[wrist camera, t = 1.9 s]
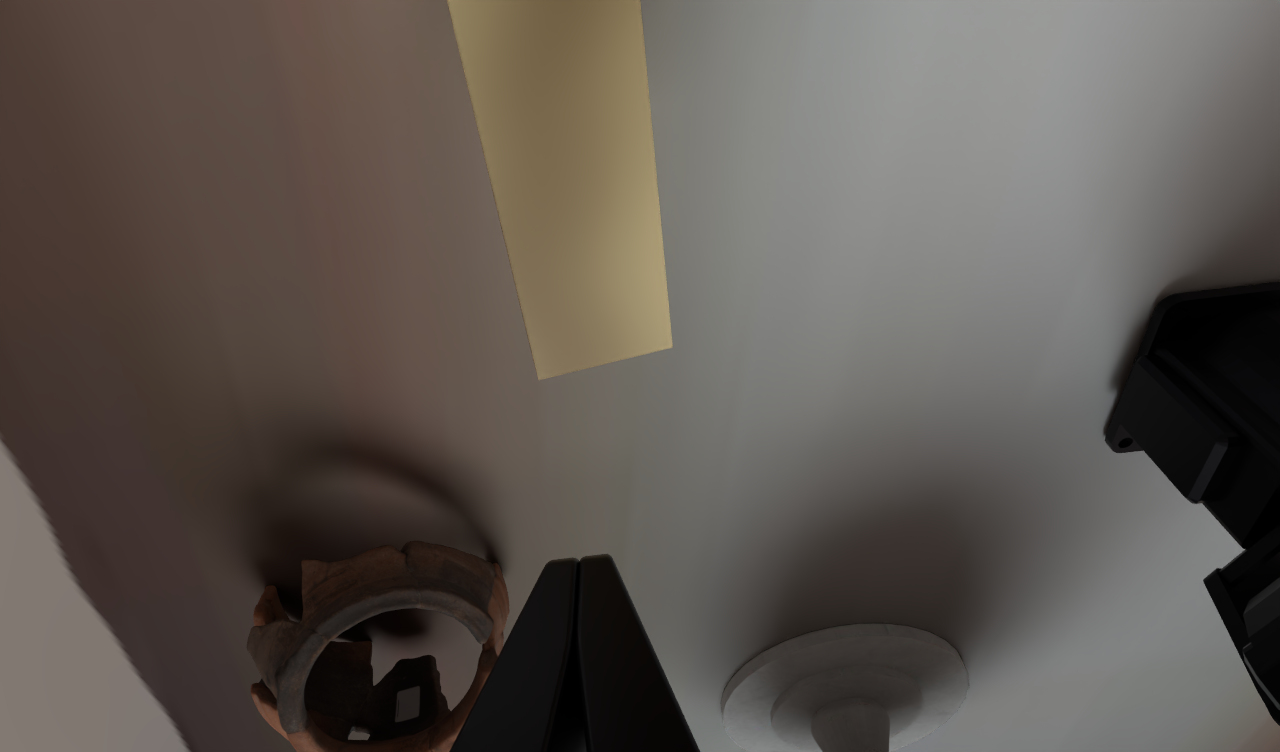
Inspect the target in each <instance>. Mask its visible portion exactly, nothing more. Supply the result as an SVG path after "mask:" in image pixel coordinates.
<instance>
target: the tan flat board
mask: <svg viewBox="0 0 1280 752" xmlns="http://www.w3.org/2000/svg"><path fill="white" fill-rule="evenodd" d="M447 3H448V7H449V11H450V15H451V20H452V24H453V28H454V32H455V36H456V40H457V45H458V49H459V53H460V57H461V61H462V65H463V69H464V74H465V78H466V82H467V86H468V90H469V94H470V99H471V103H472V107H473V111H474V115H475V119H476V124H477V128H478V132H479V136H480V140H481V144H482V149H483V153H484V157H485V161H486V165H487V169H488V173H489V178H490V182H491V186H492V190H493V194H494V198H495V203H496V207H497V211H498V215H499V219H500V223H501V228H502V232H503V236H504V240H505V244H506V248H507V253H508V257H509V261H510V265H511V269H512V273H513V277H514V282H515V286H516V290H517V294H518V298H519V302H520V307H521V311H522V315H523V319H524V323H525V327H526V332H527V336H528V340H529V344H530V348H531V352H532V356H533V361H534V364H535V368H536V372H537V376H538V379H539V380H542V379H546V378H550V377H554V376H558V375H562V374H566V373H570V372H574V371H578V370H582V369H586V368H591V367H595V366H599V365H603V364H607V363H611V362H615V361H619V360H623V359H627V358H631V357H635V356H639V355H644V354H648V353H652V352H656V351H660V350H664V349H668V348H672V347H673V346H672V335H671V325H670V314H669V303H668V293H667V282H666V271H665V261H664V250H663V239H662V228H661V218H660V207H659V196H658V186H657V175H656V164H655V154H654V143H653V132H652V122H651V111H650V100H649V89H648V79H647V68H646V57H645V47H644V36H643V25H642V15H641V4H640V0H447Z"/></svg>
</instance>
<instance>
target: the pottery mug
mask: <svg viewBox="0 0 1280 752" xmlns="http://www.w3.org/2000/svg"><path fill="white" fill-rule="evenodd" d="M301 567H302V572H303V573H302V598H303V615H302V621H301V622H299V623H297V622H294V621H291V620H290V619H289V618H288V616H287V615H286V613H285V611H284V609H283V607H282V605H281V603H280V600H279V597H278V593H277V589H276V587H275V586H273V585H268V586H267V587H266V588H265V591H264V593H263V595H262V596H261V598H260V600H259V602H258V604H257V605H256V607H255V610H254V615H253V616H254V627H252V628H251V631H250V634H249V637H248V642H247V650H248V652H249V653H250V655H251V656H252V658H253V660H254V661H255V663H256V666H257V669H258V671H259V673H260V675H261V677H262V679H261V680H260V682H259V683H254V684H252V685H251V695H252V697H253V700H254V702H255V705H256V707H257V709H258V710H259V712H260V713H261V715H262V716H263V717H264V718H265V720H266V721H267V722H268V723H269V724H270V725H271V726H272V727H273V728H274V729H275V730H277V731H278V732H279V733H280V734H282V735H283V736H284V737H285V738H286V739H288V740H289V741H290V742H291V744H292V745H293V747H294V748H295V749H296V751H297V752H449V751H450V749H451V747H452V745H453V743H454V742H455V740H456V738H457V736H458V734H459V732H460V730H461V728H462V726H463V724H464V722H465V720H466V718H467V716H468V714H469V712H470V710H471V708H472V707H473V705H474V703H475V701H476V699H477V697H478V695H479V693H480V691H481V689H482V687H483V685H484V683H485V681H486V679H487V677H488V675H489V674H490V672H491V670H492V668H493V666H494V664H495V662H496V660H497V658H498V656H499V654H500V652H501V650H502V648H503V640H504V635H503V630H504V627H505V624H506V621H507V617H508V614H509V598H508V592H507V588H506V584H505V581H504V578H503V575H502V572H501V569H500V567H499V565H498V564H497V563H493V564H492V563H491V562H488V561H486V560H484V559H481V558H479V557H477V556H475V555H472V554H469V553H466V552H462V551H459V550H457V549H454V548H450V547H446V546H443V545H434V544H429V543H424V542H422V541H410V542H408V543H406V544H405V546H404V547H403V548H402V550H401V552H400V551H399V550H397V549H396V548H395V547H394V546H391V545H385V546H381V547H377V548H374V549H371V550H369V551H367V552H365V553H362V554H359V555H355V556H353V557H350V558H347V559H344V560H341V561H331V562H323V561H320V560H315V559H312V560H303V561H302V562H301ZM405 608H418V609H426V610H434V611H438V612H441V613H444V614H446V615H449V616H452V617H453V618H455V619H456V620H458V621H459V622H461V623H462V624H463V625H465V626H466V627H467V628H468V629H469V630H470V632H471V633H472V634H473V636H474V637H475V639H476V640H477V641H478V642H479V643H480V644H483V645H482V648H483V650H482V652H481V655H480V658H479V662H478V668H477V672H476V675H475V678H474V680H473V683H472V685H471V687H470V689H469V690H468V692H467V693H466V695H465V696H464V698H463V699H462V700H461V701H460V703H459V704H458V705H457V706H456V707H455V708H454V709H453V710H452V711H450V710H449V709H448V705H447V700H446V698H445V696H444V695H443V694H442V693H441V686H440V673H439V671H438V670H437V667H436V659H435V657H433V656H431V655H425V656H421V657H418V658H413V659H401V660H399V661H398V662H397V663H396V664H395V666H394V667H393V669H392V670H391V671H390V672H388V673H387V674H386V675H385V676H384V678H383V679H382V680H381V681H380V682H379V683H378V684H377V685H375V686H373V668H372V665H371V657H372V643H371V641H358V642H335V641H332V640H333V639H335V638H336V637H337V636H338V635H340V634H341V633H342V632H344V631H346V630H348V629H349V628H351V627H352V626H354V625H356V624H358V623H359V622H361V621H363V620H365V619H367V618H369V617H372V616H374V615H378V614H380V613H383V612H386V611H391V610H398V609H405ZM351 731H355V732H360V733H367V734H370V737H369V739H368V740H348V737H349V734H350V733H351Z"/></svg>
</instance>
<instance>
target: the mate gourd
mask: <svg viewBox="0 0 1280 752" xmlns="http://www.w3.org/2000/svg"><path fill="white" fill-rule="evenodd" d="M968 688H969V679H968V673H967V670H966V668H965V666H964V664H963V661H962V660H961V658H960V656H959V654H958V652H957V650H956V649H955V648H953V647H952V646H951V645H950V644H949V643H948V642H947V641H946V640H944V639H942V638H940V637H938V636H936V635H934V634H932V633H930V632H928V631H924V630H920V629H917V628H913V627H910V626H902V625H894V624H854V625H845V626H837V627H831V628H827V629H823V630H818V631H814V632H810V633H806V634H804V635H801V636H798V637H795V638H792V639H790V640H787V641H784V642H782V643H780V644H778V645H776V646H774V647H772V648H770V649H768V650H766V651H764V652H762V653H761V654H759V655H758V656H756V657H755V658H753V659H752V660H751V661H749V662H748V663H746V664H745V665H744V666H743V667H742V668H741V669H740V670H739V671H738V672H737V673H736V674H735V675H734V676H733V677H732V678H731V680H730V681H729V683H728V685H727V686H726V688H725V689H724V692H723V696H722V700H721V709H722V717H723V724H724V728H725V730H726V732H727V734H728V735H729V737H730V738H731V739H732V740H733V741H734V742H735V743H736V744H737V745H738V746H739V747H741V748H742V749H744V750H746V751H748V752H892V751H895V750H897V749H899V748H902V747H904V746H907V745H909V744H912V743H914V742H916V741H918V740H919V739H921V738H923V737H925V736H927V735H929V734H931V733H932V732H933V731H935V730H936V729H938V728H939V727H940V726H942V725H943V724H945V723H946V722H947V721H948V720H949V719H950V718H951V717H952V716H953V715H954V714H955V713H956V712H957V711H958V710H959V708H960V707H961V705H962V703H963V702H964V700H965V699H966V696H967V692H968Z"/></svg>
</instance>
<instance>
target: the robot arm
mask: <svg viewBox="0 0 1280 752" xmlns="http://www.w3.org/2000/svg"><path fill="white" fill-rule="evenodd" d="M1176 309H1177V310H1176ZM1175 310H1176V311H1175ZM1173 311H1175V312H1173ZM1105 442H1106V443H1107V445H1108V446H1109V447H1110V448H1111V449H1112V451H1114V452H1116V453H1126V452H1134V451H1143V450H1144V451H1145V453H1146V454H1147V455H1148V456H1149V457H1150V458H1151V459H1152V461H1153V462H1154V463H1155V464H1156V465H1157V466H1158V467H1159V468H1160V470H1161V471H1162V472H1163V473H1164V474H1165V475H1166V476H1167V478H1168V479H1169V480H1170V481H1171V482H1172V483H1173V484H1174V486H1175V487H1176V488H1177V489H1178V490H1179V491H1180V492H1181V494H1182V495H1183V496H1184V497H1185V498H1186V499H1187V500H1189V501H1190V502H1191V503H1194V504H1198V503H1203V505H1204V506H1205V507H1206V508H1207V509H1208V510H1209V511H1210V512H1211V513H1212V515H1213V516H1214V517H1215V518H1216V519H1217V520H1218V521H1219V522H1220V524H1221V525H1222V526H1223V527H1224V528H1225V529H1226V530H1227V531H1228V532H1229V534H1230V535H1231V536H1232V537H1233V538H1234V539H1235V540H1236V541H1237V542H1238V544H1239V545H1240V546H1241V547H1242V548H1243V549H1245V550H1244V551H1243V552H1242V553H1241V554H1239V555H1238V556H1237V557H1236V558H1234V559H1233V560H1232V561H1231V562H1230V563H1228V564H1227V565H1226V566H1225V567H1223V568H1222V569H1220V568H1217V569H1215V570H1214V571H1213V572H1212V573H1211V574H1209V575H1208V576H1207V577H1206V578H1204V580H1203V581H1204V584H1205V586H1206V588H1207V590H1208V592H1209V594H1210V596H1211V598H1212V600H1213V602H1214V604H1215V606H1216V608H1217V610H1218V612H1219V614H1220V616H1221V618H1222V620H1223V622H1224V624H1225V626H1226V628H1227V630H1228V633H1229V635H1230V637H1231V639H1232V641H1233V643H1234V645H1235V647H1236V649H1237V651H1238V653H1239V655H1240V657H1241V659H1242V661H1243V663H1244V665H1245V667H1246V669H1247V671H1248V673H1249V675H1250V677H1251V679H1252V681H1253V683H1254V685H1255V687H1256V689H1257V691H1258V693H1259V695H1260V696H1261V698H1262V700H1263V701H1264V703H1265V705H1266V707H1267V709H1268V711H1269V713H1270V715H1271V716H1272V718H1273V719H1274V721H1275V722H1276V723H1277V724H1278V725H1280V282H1274V283H1265V284H1257V285H1248V286H1240V287H1231V288H1223V289H1214V290H1206V291H1197V292H1189V293H1180V294H1174V295H1171V296H1168V297H1167V298H1165V299H1163V300H1162V301H1161V302H1160V303H1159V304H1158V305H1157V307H1156V309H1155V311H1154V313H1153V316H1152V318H1151V321H1150V324H1149V326H1148V329H1147V331H1146V334H1145V336H1144V339H1143V342H1142V344H1141V347H1140V349H1139V352H1138V354H1137V357H1136V360H1135V362H1134V365H1133V367H1132V370H1131V372H1130V375H1129V378H1128V380H1127V383H1126V385H1125V388H1124V390H1123V393H1122V396H1121V398H1120V401H1119V403H1118V406H1117V408H1116V411H1115V414H1114V416H1113V419H1112V421H1111V424H1110V426H1109V429H1108V432H1107V434H1106V437H1105ZM449 752H700V750H699V748H698V746H697V744H696V741H695V739H694V737H693V735H692V733H691V730H690V728H689V726H688V724H687V722H686V719H685V717H684V715H683V713H682V710H681V708H680V706H679V704H678V702H677V699H676V697H675V695H674V693H673V691H672V688H671V686H670V684H669V682H668V680H667V677H666V675H665V673H664V671H663V669H662V666H661V664H660V662H659V660H658V657H657V655H656V653H655V651H654V649H653V646H652V644H651V642H650V640H649V638H648V635H647V633H646V631H645V629H644V627H643V624H642V622H641V620H640V618H639V615H638V613H637V611H636V609H635V607H634V604H633V602H632V600H631V598H630V596H629V593H628V591H627V589H626V587H625V585H624V582H623V580H622V578H621V576H620V573H619V571H618V569H617V567H616V565H615V562H614V560H613V558H612V557H611V556H610V555H608V554H602V555H593V556H585V557H583V558H582V559H581V560H580V561H579V560H578V559H577V558H566V559H557V560H551V561H549V562H548V563H547V564H546V565H545V567H544V569H543V571H542V573H541V574H540V576H539V578H538V580H537V582H536V584H535V586H534V588H533V590H532V592H531V594H530V596H529V598H528V600H527V602H526V604H525V606H524V608H523V609H522V611H521V613H520V615H519V617H518V619H517V621H516V623H515V625H514V627H513V629H512V631H511V633H510V635H509V637H508V639H507V641H506V642H505V644H504V646H503V648H502V650H501V652H500V654H499V656H498V658H497V660H496V662H495V664H494V666H493V668H492V670H491V672H490V674H489V675H488V677H487V679H486V681H485V683H484V685H483V687H482V689H481V691H480V693H479V695H478V697H477V699H476V701H475V703H474V705H473V707H472V708H471V710H470V712H469V714H468V716H467V718H466V720H465V722H464V724H463V726H462V728H461V730H460V732H459V734H458V736H457V738H456V740H455V742H454V743H453V745H452V747H451V749H450V751H449Z"/></svg>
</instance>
